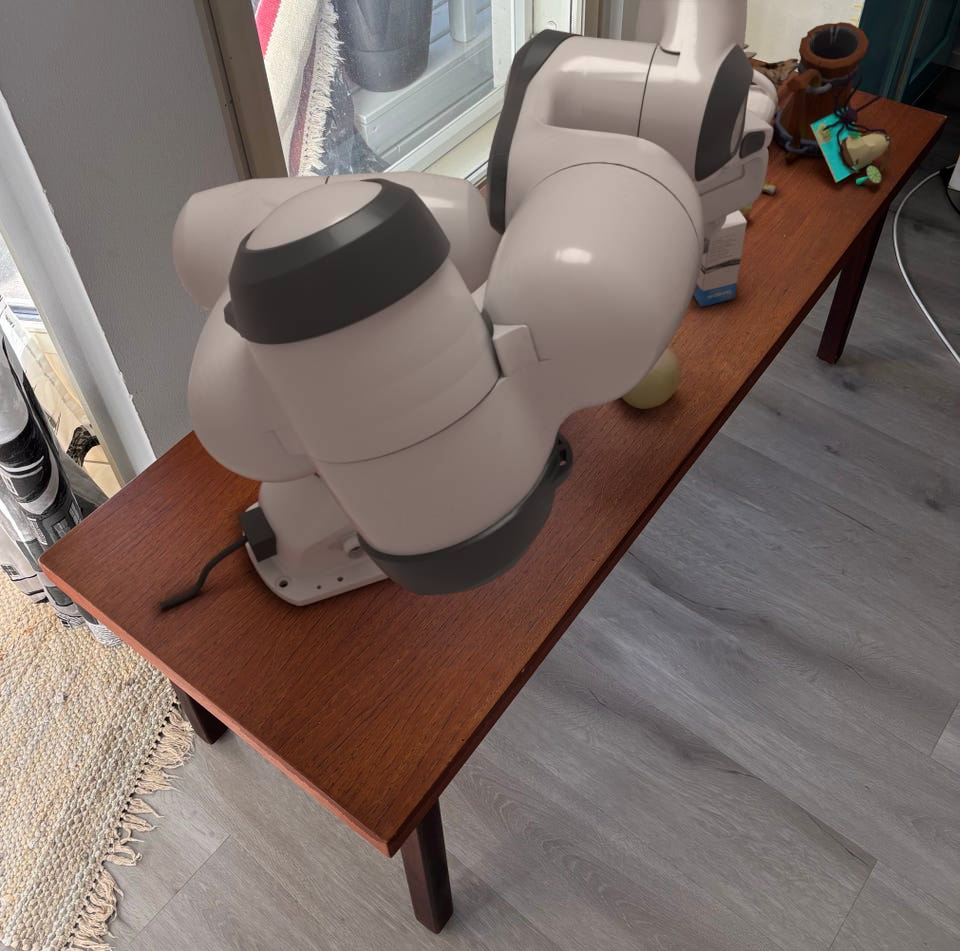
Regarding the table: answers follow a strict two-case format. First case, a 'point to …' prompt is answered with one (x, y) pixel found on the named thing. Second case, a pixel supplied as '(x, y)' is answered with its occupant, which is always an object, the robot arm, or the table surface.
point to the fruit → (657, 382)
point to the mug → (819, 84)
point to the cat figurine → (762, 97)
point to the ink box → (722, 263)
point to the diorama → (850, 141)
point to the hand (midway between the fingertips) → (662, 268)
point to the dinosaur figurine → (777, 72)
